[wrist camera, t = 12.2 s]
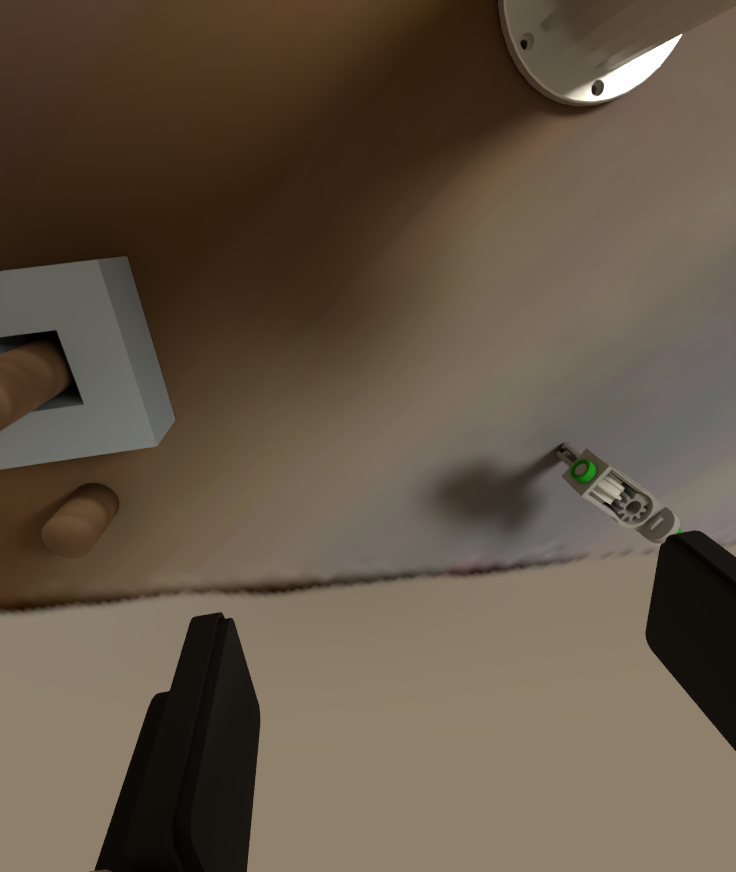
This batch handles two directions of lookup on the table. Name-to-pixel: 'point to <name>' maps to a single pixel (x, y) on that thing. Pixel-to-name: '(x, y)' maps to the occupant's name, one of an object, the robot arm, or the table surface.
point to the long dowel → (32, 377)
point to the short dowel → (80, 521)
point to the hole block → (85, 362)
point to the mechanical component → (618, 495)
